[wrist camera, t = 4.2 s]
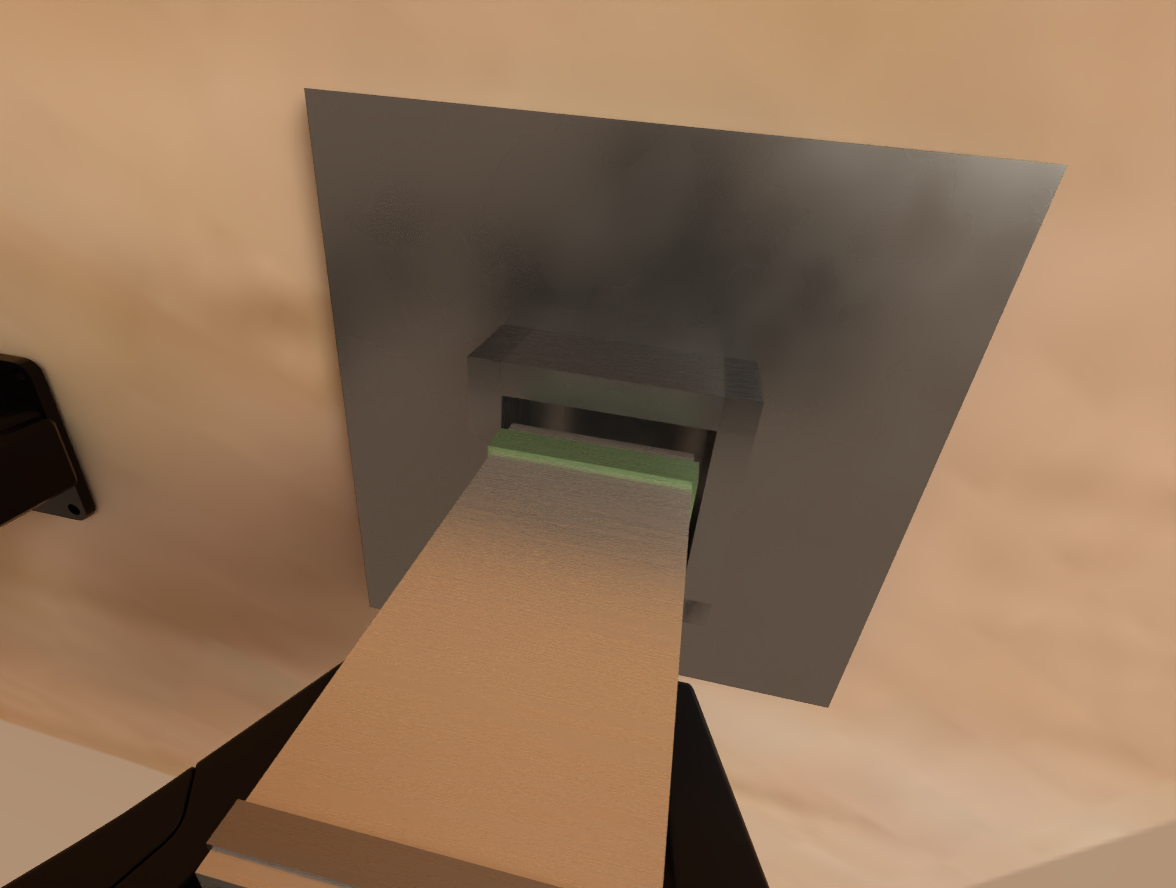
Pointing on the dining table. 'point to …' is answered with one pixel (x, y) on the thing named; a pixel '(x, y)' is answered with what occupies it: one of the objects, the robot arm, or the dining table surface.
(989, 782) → the dining table surface
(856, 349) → the stand base
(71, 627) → the dining table surface
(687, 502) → the post
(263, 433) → the dining table surface
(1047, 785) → the dining table surface
